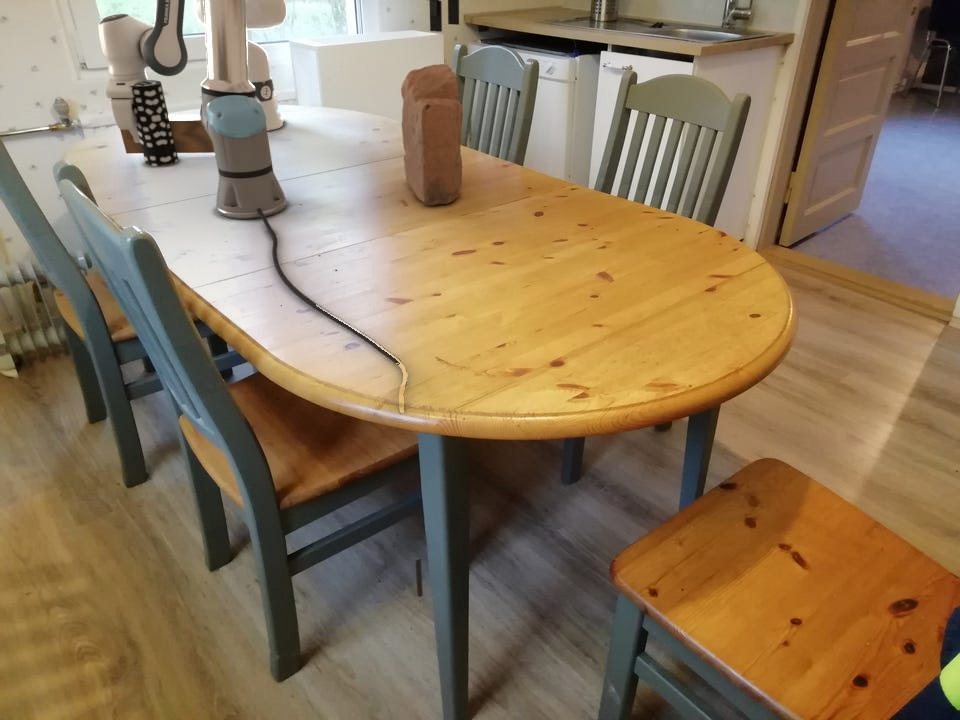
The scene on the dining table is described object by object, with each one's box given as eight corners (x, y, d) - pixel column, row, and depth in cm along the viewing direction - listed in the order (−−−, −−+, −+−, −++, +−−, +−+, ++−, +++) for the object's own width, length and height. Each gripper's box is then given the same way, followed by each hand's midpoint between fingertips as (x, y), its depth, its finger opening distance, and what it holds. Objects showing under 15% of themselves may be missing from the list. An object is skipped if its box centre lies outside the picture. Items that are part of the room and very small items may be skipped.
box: (223, 146, 191) (217, 114, 187) (217, 152, 186) (210, 120, 182) (134, 147, 190) (126, 115, 186) (126, 153, 185) (117, 120, 180)
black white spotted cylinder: (184, 157, 190) (167, 80, 179) (169, 166, 183) (151, 87, 172) (155, 156, 190) (136, 79, 179) (139, 165, 183) (119, 86, 172)
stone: (471, 203, 161) (470, 74, 147) (425, 208, 158) (419, 77, 144) (446, 179, 178) (443, 61, 164) (404, 183, 175) (396, 64, 161)
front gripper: (445, -75, 170) (446, 21, 181) (408, -74, 149) (412, 33, 161) (474, -74, 168) (474, 22, 179) (441, -74, 148) (443, 35, 159)
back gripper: (132, 76, 187) (145, 128, 195) (102, 92, 170) (117, 148, 177) (156, 76, 188) (168, 128, 195) (128, 92, 170) (142, 148, 178)
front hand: (445, 27), depth 170 cm, fingers open, 13 cm apart
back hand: (143, 138), depth 186 cm, fingers closed on box, 6 cm apart
